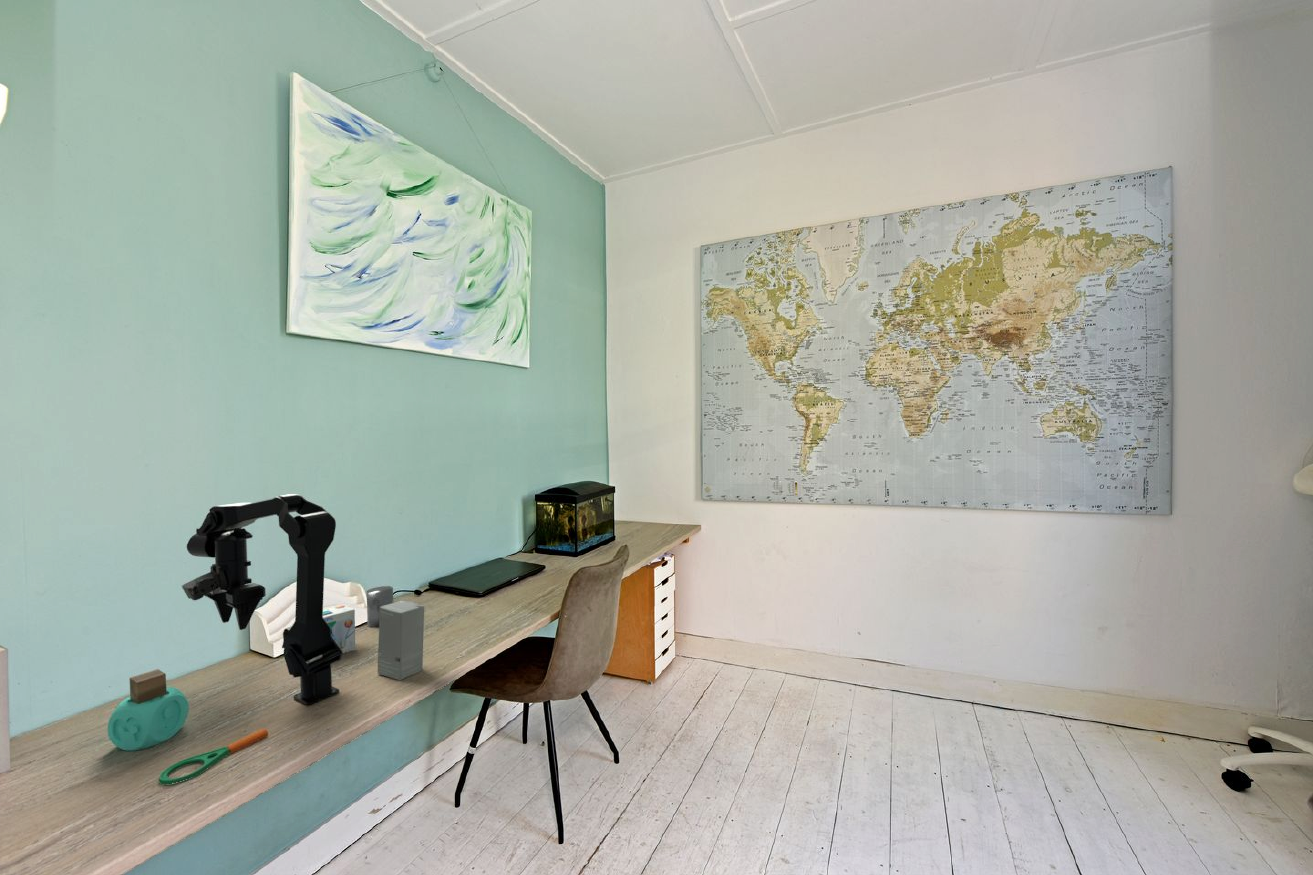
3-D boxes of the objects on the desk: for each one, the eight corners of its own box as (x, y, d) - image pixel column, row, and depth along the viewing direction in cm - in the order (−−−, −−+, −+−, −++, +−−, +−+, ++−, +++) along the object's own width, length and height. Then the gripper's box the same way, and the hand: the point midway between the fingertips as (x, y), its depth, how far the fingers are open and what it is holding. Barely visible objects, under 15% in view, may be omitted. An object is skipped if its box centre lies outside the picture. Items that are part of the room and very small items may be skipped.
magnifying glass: (167, 792, 84) (167, 781, 84) (152, 780, 87) (152, 770, 87) (274, 742, 97) (273, 733, 97) (258, 733, 100) (257, 724, 100)
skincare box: (376, 674, 123) (374, 607, 123) (404, 662, 129) (401, 598, 129) (400, 682, 119) (398, 612, 119) (427, 668, 125) (425, 603, 125)
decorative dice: (151, 726, 103) (149, 686, 103) (190, 726, 103) (188, 686, 103) (107, 751, 95) (105, 707, 95) (149, 751, 95) (147, 707, 95)
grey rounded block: (398, 621, 158) (397, 588, 158) (376, 628, 152) (374, 594, 152) (385, 617, 161) (384, 584, 161) (362, 624, 155) (361, 591, 155)
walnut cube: (166, 694, 99) (165, 673, 99) (137, 704, 96) (136, 682, 96) (158, 689, 102) (157, 669, 101) (130, 698, 98) (129, 677, 98)
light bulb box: (311, 664, 129) (309, 621, 129) (300, 657, 133) (299, 615, 133) (357, 649, 138) (355, 608, 138) (346, 643, 142) (344, 603, 142)
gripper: (170, 561, 119) (173, 630, 119) (203, 572, 109) (206, 646, 109) (230, 551, 128) (233, 614, 128) (265, 559, 118) (267, 628, 119)
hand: (234, 625), depth 121 cm, fingers open, 9 cm apart
